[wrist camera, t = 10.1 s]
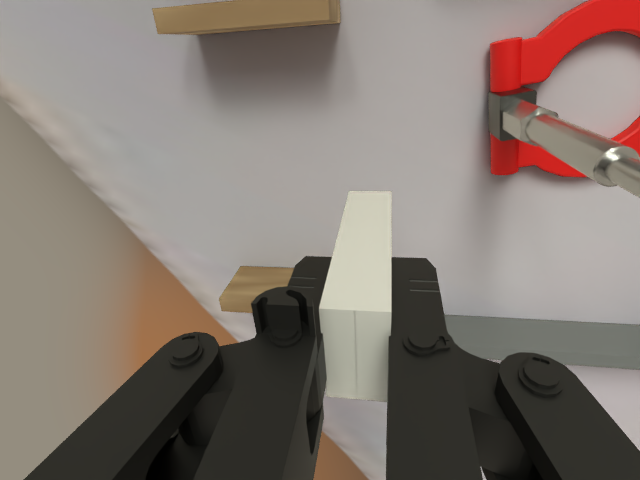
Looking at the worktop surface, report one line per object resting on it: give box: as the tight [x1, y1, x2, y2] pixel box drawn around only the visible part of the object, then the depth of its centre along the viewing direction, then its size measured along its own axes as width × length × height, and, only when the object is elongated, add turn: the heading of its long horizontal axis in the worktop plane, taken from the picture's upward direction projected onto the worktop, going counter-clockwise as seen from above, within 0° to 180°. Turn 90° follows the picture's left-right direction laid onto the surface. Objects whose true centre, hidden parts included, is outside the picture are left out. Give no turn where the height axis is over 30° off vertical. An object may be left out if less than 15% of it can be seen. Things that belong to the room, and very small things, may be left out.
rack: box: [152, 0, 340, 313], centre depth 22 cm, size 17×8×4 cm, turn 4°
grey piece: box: [444, 315, 640, 370], centre depth 19 cm, size 24×16×3 cm, turn 4°
